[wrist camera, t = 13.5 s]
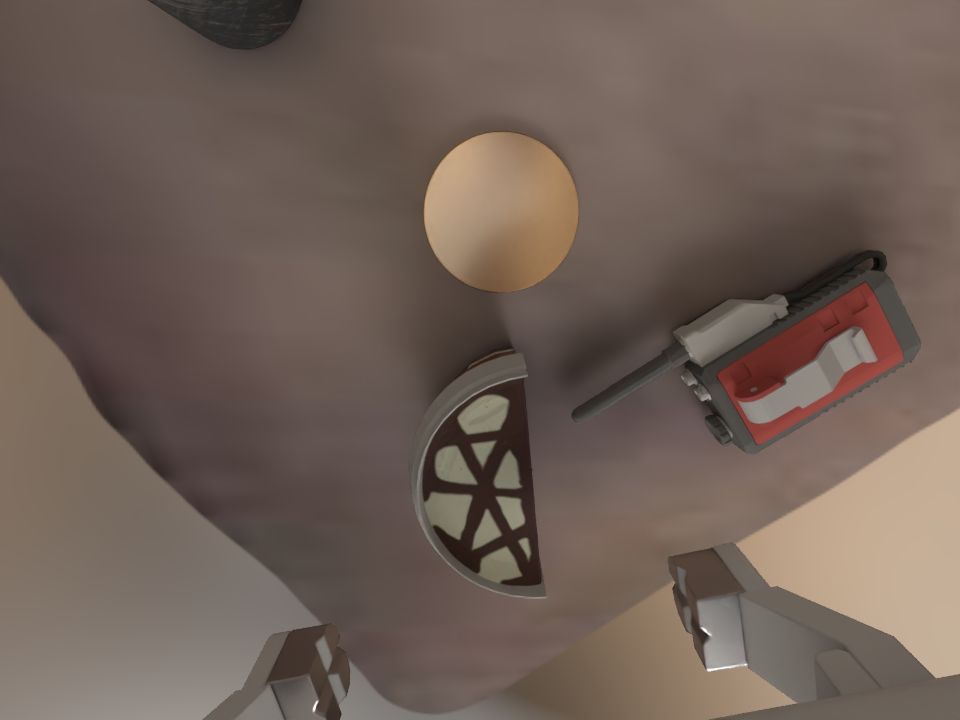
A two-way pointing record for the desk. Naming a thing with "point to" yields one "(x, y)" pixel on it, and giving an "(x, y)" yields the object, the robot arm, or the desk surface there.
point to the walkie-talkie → (784, 354)
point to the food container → (480, 477)
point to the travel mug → (234, 19)
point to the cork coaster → (501, 211)
